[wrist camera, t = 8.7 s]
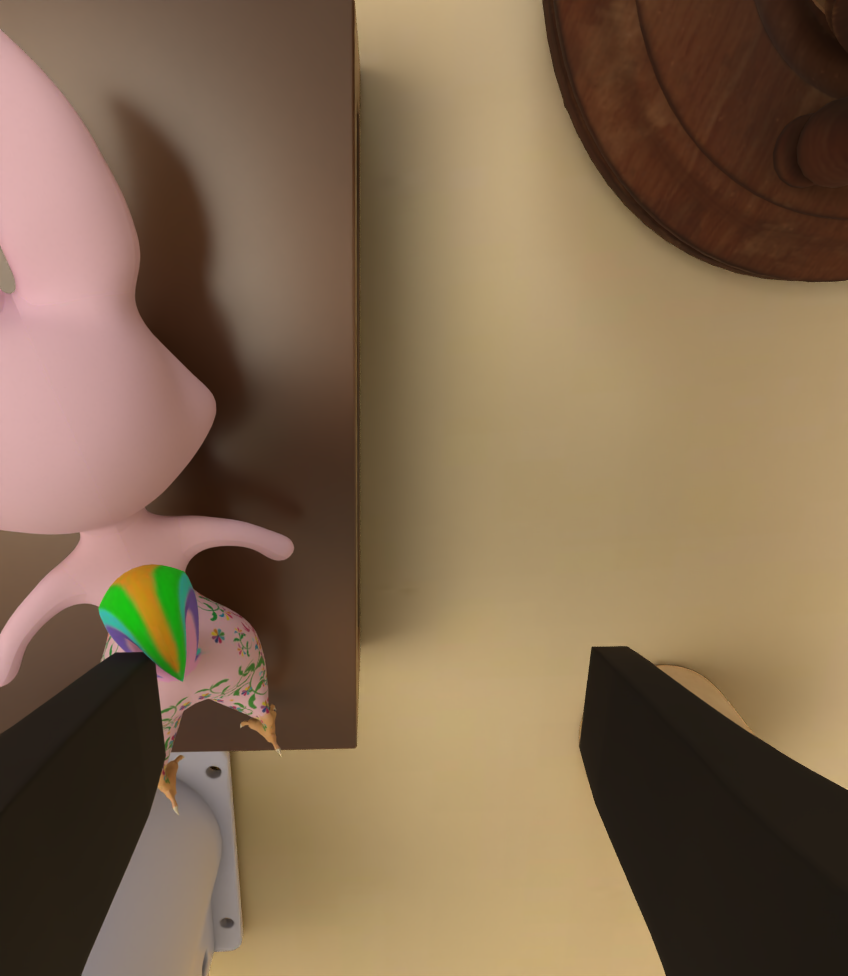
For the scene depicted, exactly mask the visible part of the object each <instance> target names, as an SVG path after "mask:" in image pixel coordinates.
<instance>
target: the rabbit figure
mask: <svg viewBox="0 0 848 976" xmlns="http://www.w3.org/2000/svg"><path fill="white" fill-rule="evenodd" d="M0 246H1V249H2V251H3V253H4V255H5V258H6V260H7V262H8V264H9V266H10V269H11V271H12V274H13V276H14V280H15V285H16V288H15V291H14V292H13V293H11V294H8V293H5V292H3V291H2V290H1V289H0V530H4V531H12V532H22V533H32V534H71V533H79V532H80V541H79V543H78V545H77V546H76V547H75V549H74V550H73V551H72V552H71V553H70V554H69V555H68V556H67V557H66V558H65V559H64V560H63V561H62V562H61V563H60V564H59V565H57V566H56V567H55V568H54V569H53V570H51V571H50V572H49V573H48V574H47V575H46V576H45V577H44V578H43V579H42V580H41V581H40V582H39V583H38V585H37V586H36V587H35V588H34V589H33V590H32V592H31V593H30V594H29V595H28V596H27V597H26V598H25V600H24V601H23V602H22V603H21V604H20V605H19V607H18V608H17V609H16V610H15V612H14V613H13V615H12V616H11V617H10V619H9V620H8V622H7V623H6V625H5V627H4V628H3V630H2V632H1V634H0V687H2V686H4V685H7V684H8V683H10V682H11V681H12V680H13V679H14V678H15V676H16V675H17V673H18V671H19V668H20V665H21V661H22V657H23V654H24V652H25V649H26V647H27V645H28V643H29V642H30V640H31V639H32V637H33V636H34V635H35V634H36V632H37V631H38V630H39V629H40V628H41V627H42V626H43V625H44V624H45V623H46V622H47V621H48V620H50V619H51V618H52V617H53V616H55V615H56V614H57V613H59V612H60V611H62V610H63V609H65V608H67V607H70V606H73V605H76V604H84V603H86V604H93V605H96V606H98V607H99V608H98V609H99V614H100V617H101V619H102V621H103V623H104V625H105V628H106V630H107V631H108V637H107V642H106V646H105V649H104V653H103V656H102V659H101V662H102V661H103V660H105V659H106V658H108V657H109V656H111V655H112V654H114V653H115V652H144V653H145V654H146V655H147V656H148V657H149V658H150V659H151V660H152V661H153V662H155V663H156V671H157V680H158V689H159V698H160V707H161V715H162V724H163V733H164V742H165V751H166V758H165V761H164V765H163V769H162V772H161V776H160V780H159V783H158V788H159V790H160V791H161V792H163V793H164V794H165V795H166V797H167V798H168V799H170V800H171V803H172V807H173V810H174V811H175V812H176V813H177V814H178V815H179V812H178V805H177V802H176V800H175V795H176V793H177V792H176V773H177V770H178V762H179V761H180V760H182V759H183V758H185V757H184V756H183V755H179V756H178V757H177V758H176V759H175V760H173V761H170V762H169V763H168V760H169V756H170V753H171V750H172V746H173V743H174V740H175V737H176V734H177V730H178V728H179V724H180V721H181V718H182V714H183V711H184V710H186V709H187V708H189V707H190V706H192V705H193V704H195V703H198V702H200V701H203V700H206V699H211V700H213V701H215V702H217V703H220V704H222V705H225V706H227V707H230V708H232V709H235V710H237V711H240V712H242V713H244V714H247V715H249V716H251V717H253V718H251V719H249V720H248V721H243V722H241V724H240V728H241V727H243V726H245V725H249V727H250V728H251V729H254V730H256V731H257V732H259V733H260V734H261V735H262V736H263V737H265V739H266V740H267V741H268V742H271V743H272V744H273V746H274V748H275V750H276V752H278V753H279V755H280V756H281V757H282V755H281V750H280V747H279V746H278V744H277V742H276V734H275V718H276V712H275V711H274V709H275V710H276V708H275V706H274V705H273V704H271V706H270V710H269V705H268V683H267V672H266V663H265V658H264V654H263V650H262V646H261V643H260V640H259V638H258V636H257V633H256V631H255V630H254V628H253V627H252V626H251V624H250V623H249V622H248V621H246V620H245V619H244V618H243V617H242V616H240V615H239V614H237V613H236V612H234V611H232V610H231V609H229V608H227V607H225V606H222V605H220V604H218V603H216V602H214V601H212V600H210V599H208V598H206V597H204V596H203V595H201V594H200V593H198V592H197V591H196V590H194V589H193V587H192V585H191V582H190V580H189V578H188V576H187V575H186V573H185V570H186V567H187V564H188V563H189V561H190V560H191V558H193V557H194V556H195V555H196V554H197V553H199V552H200V551H202V550H205V549H208V548H212V547H218V546H241V547H246V548H251V549H253V550H256V551H258V552H260V553H261V554H263V555H265V556H266V557H268V558H270V559H273V560H277V561H280V560H285V559H287V558H289V557H290V556H291V554H292V553H293V551H294V545H293V543H292V541H291V540H290V539H289V538H287V537H286V536H284V535H281V534H279V533H276V532H273V531H270V530H268V529H265V528H262V527H260V526H257V525H254V524H250V523H247V522H243V521H238V520H232V519H224V518H215V517H206V516H161V515H155V514H153V513H150V512H148V511H147V510H146V509H145V506H147V505H148V504H150V503H151V502H152V501H153V500H155V499H156V498H157V497H158V496H160V495H161V494H162V493H163V492H164V491H165V490H166V489H167V488H168V487H169V486H170V485H171V483H172V482H173V481H174V480H175V479H176V478H177V477H178V475H179V474H180V473H181V472H182V471H183V469H184V468H185V467H186V466H187V465H188V463H189V462H190V461H191V459H192V458H193V457H194V455H195V454H196V452H197V451H198V449H199V448H200V446H201V445H202V443H203V441H204V440H205V438H206V436H207V434H208V432H209V430H210V428H211V426H212V424H213V421H214V418H215V415H216V401H215V399H214V396H213V394H212V393H211V392H210V390H209V389H208V388H207V387H206V386H205V385H204V384H203V383H202V382H201V381H200V380H198V379H197V378H196V377H195V376H194V375H193V374H192V373H191V372H190V371H189V370H188V369H187V368H186V367H185V366H184V365H183V364H182V363H181V362H180V361H179V360H178V359H177V358H176V357H175V356H174V355H173V354H172V353H171V352H170V351H169V350H168V349H167V348H166V347H165V346H164V345H163V344H162V343H161V342H160V341H159V340H158V339H157V338H156V337H155V336H154V335H153V334H152V332H151V331H150V330H149V329H148V327H147V326H146V325H145V323H144V321H143V320H142V318H141V316H140V314H139V312H138V309H137V306H136V302H135V288H136V282H137V277H138V272H139V266H140V247H139V241H138V236H137V233H136V229H135V226H134V223H133V220H132V217H131V214H130V211H129V208H128V206H127V203H126V201H125V199H124V196H123V194H122V192H121V190H120V188H119V186H118V184H117V182H116V180H115V178H114V176H113V174H112V172H111V171H110V169H109V167H108V165H107V163H106V162H105V160H104V158H103V156H102V154H101V152H100V151H99V149H98V147H97V145H96V143H95V141H94V139H93V138H92V136H91V134H90V133H89V131H88V129H87V128H86V126H85V125H84V123H83V121H82V120H81V118H80V117H79V115H78V114H77V112H76V111H75V110H74V108H73V107H72V106H71V104H70V103H69V102H68V100H67V99H66V98H65V96H64V95H63V94H62V93H61V91H60V90H59V89H58V88H57V86H56V85H55V84H54V83H53V82H52V81H51V80H50V78H49V77H48V76H47V75H46V74H45V73H44V72H43V71H42V70H41V68H40V67H39V66H38V65H37V64H36V63H35V62H34V61H33V60H32V59H31V58H30V57H29V56H28V55H27V54H26V53H25V52H24V51H23V50H22V49H21V48H20V47H19V46H18V45H16V44H15V43H14V42H13V41H12V40H11V39H10V38H9V37H8V36H7V35H6V34H5V33H4V32H3V31H2V30H1V29H0Z"/></svg>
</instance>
